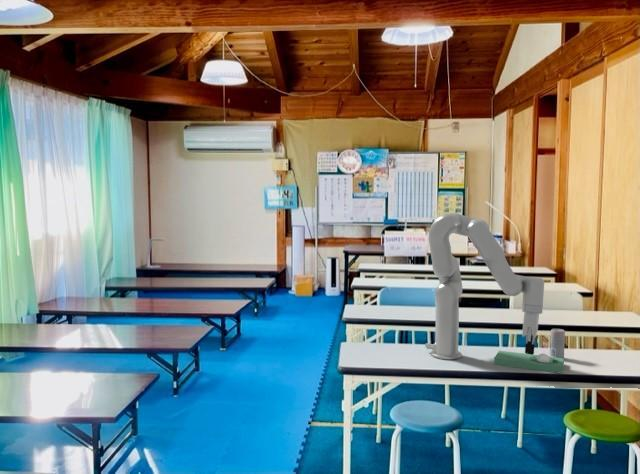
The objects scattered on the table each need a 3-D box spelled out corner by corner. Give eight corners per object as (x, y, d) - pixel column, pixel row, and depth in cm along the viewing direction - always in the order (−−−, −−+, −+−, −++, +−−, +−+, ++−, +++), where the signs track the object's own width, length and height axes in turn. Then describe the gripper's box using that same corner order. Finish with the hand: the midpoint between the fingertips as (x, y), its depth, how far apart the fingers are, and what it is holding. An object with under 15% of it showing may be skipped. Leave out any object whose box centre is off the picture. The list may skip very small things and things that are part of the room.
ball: (552, 367, 214) (540, 370, 217) (552, 359, 218) (540, 362, 221) (546, 357, 213) (534, 360, 215) (546, 349, 217) (534, 352, 220)
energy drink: (560, 356, 231) (561, 328, 230) (566, 360, 226) (567, 331, 225) (547, 356, 231) (548, 328, 230) (553, 360, 225) (554, 331, 225)
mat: (494, 364, 220) (494, 357, 220) (498, 356, 231) (499, 350, 231) (561, 373, 209) (562, 366, 209) (563, 364, 220) (563, 358, 220)
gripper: (524, 303, 225) (521, 347, 227) (519, 310, 212) (517, 356, 214) (544, 306, 222) (541, 350, 224) (540, 313, 209) (537, 360, 210)
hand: (529, 353), depth 219 cm, fingers closed
